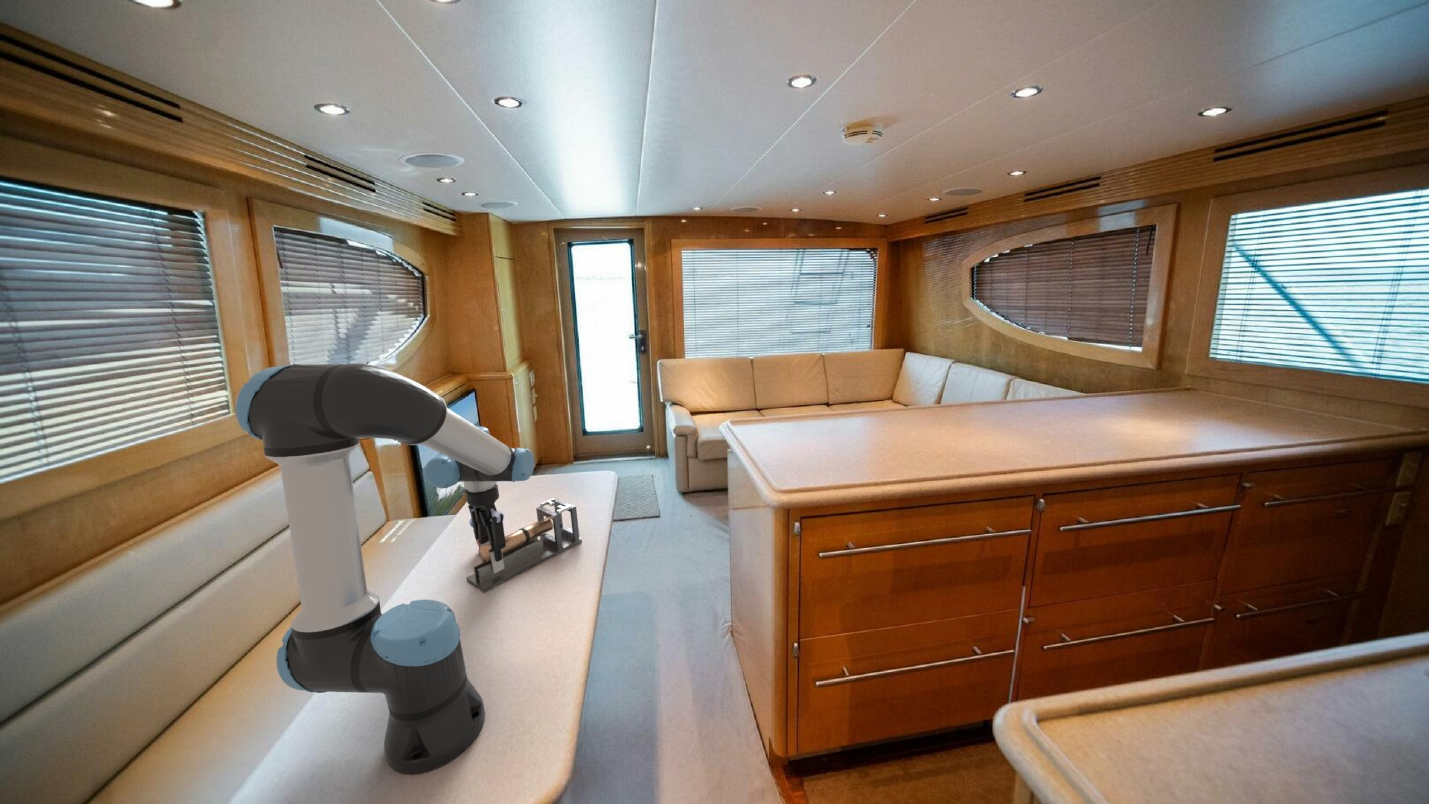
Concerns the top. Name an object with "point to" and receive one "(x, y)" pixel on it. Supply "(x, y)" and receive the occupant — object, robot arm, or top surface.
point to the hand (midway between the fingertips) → (494, 567)
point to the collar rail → (531, 548)
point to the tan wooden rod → (519, 537)
